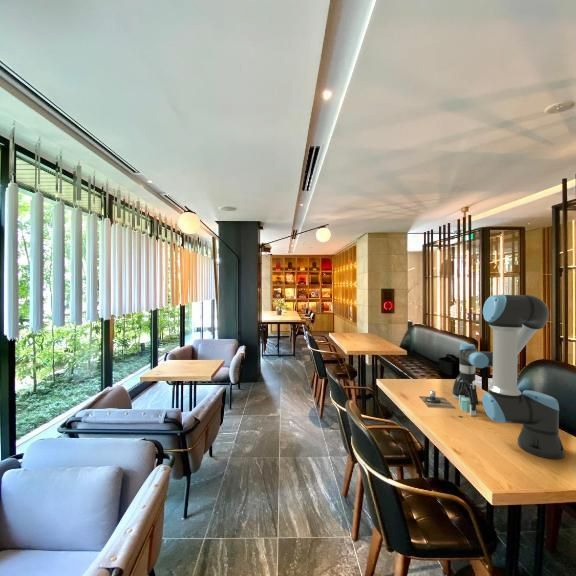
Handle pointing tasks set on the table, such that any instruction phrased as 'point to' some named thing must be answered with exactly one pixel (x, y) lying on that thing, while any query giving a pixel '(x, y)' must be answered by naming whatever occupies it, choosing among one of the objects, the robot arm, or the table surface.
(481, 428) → the table surface
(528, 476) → the table surface
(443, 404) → the board
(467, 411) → the cap
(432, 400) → the post
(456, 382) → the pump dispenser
